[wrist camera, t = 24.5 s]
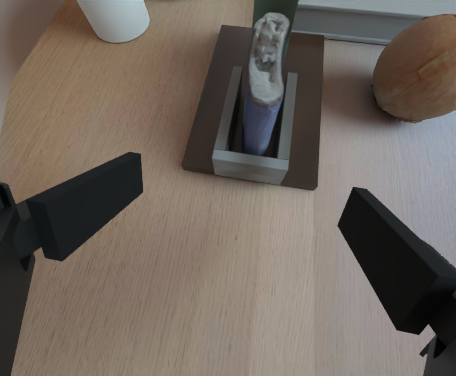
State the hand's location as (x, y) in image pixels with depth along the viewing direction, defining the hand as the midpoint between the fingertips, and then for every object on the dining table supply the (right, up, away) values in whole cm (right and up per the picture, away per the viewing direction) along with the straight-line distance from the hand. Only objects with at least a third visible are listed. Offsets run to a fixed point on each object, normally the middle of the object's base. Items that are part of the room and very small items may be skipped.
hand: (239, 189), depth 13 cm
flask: (+2, +7, +10) cm, 13 cm away
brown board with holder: (+3, +11, +13) cm, 17 cm away
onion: (+20, +10, +13) cm, 25 cm away
